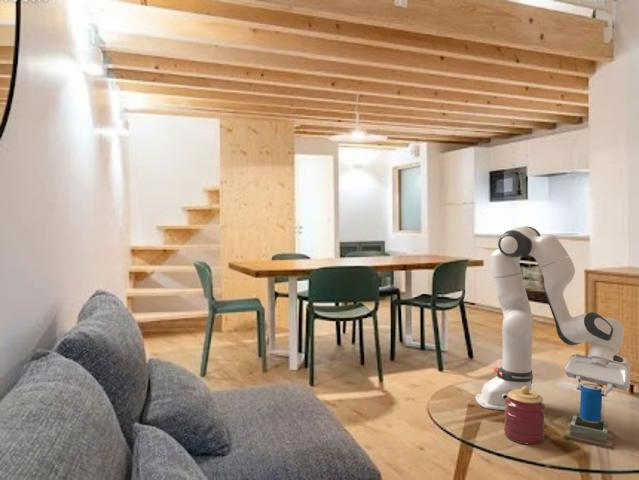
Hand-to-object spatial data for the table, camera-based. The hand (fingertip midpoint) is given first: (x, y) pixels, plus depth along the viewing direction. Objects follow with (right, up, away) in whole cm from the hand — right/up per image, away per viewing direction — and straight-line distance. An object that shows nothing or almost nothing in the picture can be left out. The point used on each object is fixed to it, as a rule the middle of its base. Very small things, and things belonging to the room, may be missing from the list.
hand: (590, 392), depth 171 cm
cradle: (0, -15, +1) cm, 15 cm away
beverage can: (0, -10, +1) cm, 10 cm away
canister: (-24, -15, -1) cm, 28 cm away
